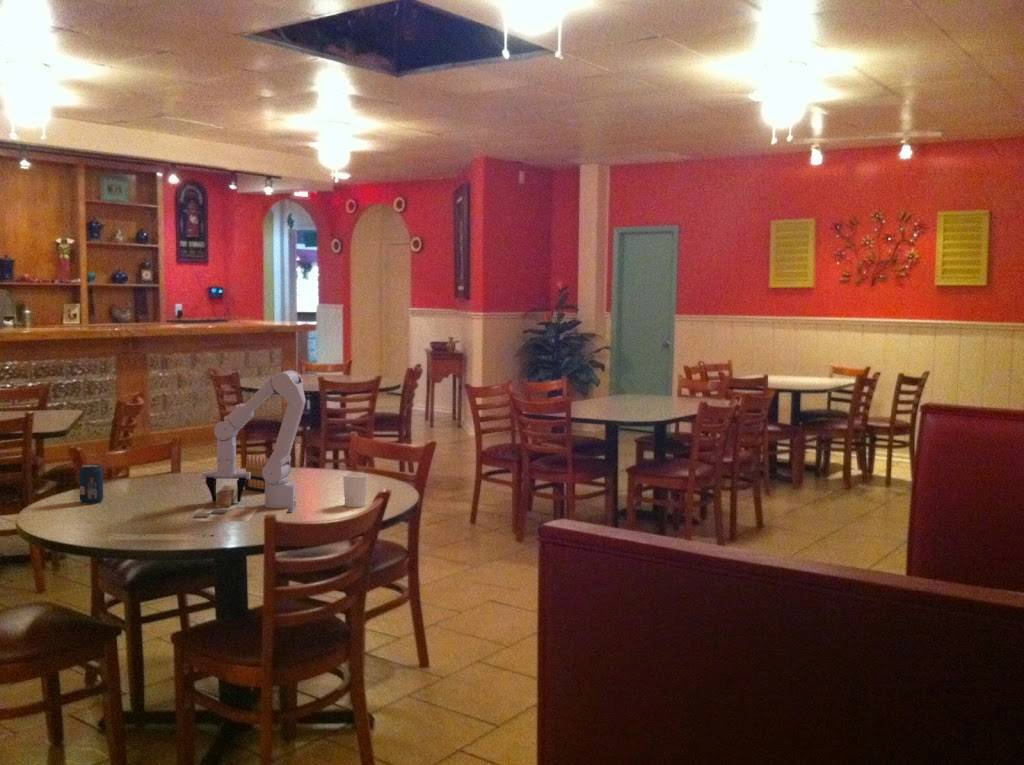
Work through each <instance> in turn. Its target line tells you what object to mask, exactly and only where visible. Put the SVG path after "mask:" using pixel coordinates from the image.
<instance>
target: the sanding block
mask: <svg viewBox="0 0 1024 765" xmlns="http://www.w3.org/2000/svg"><path fill="white" fill-rule="evenodd" d="M237 494H238V490H237V485H223V486H222V487H221V488H220V490H218V492H217V491H216V501H215V503H216V508H231V507H232V506H233V504H234V503H235V502H236V501H237Z"/></svg>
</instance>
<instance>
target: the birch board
mask: <svg viewBox="0 0 1024 765" xmlns="http://www.w3.org/2000/svg"><path fill="white" fill-rule="evenodd" d="M214 509H215V508H197V510H195V511H194V512H193V513H192V514H191V515H190V516H189V517H188V518H187V519H186V520H185V522H249V521H250V519H251V518H252V517H253V515H254V514H255V513H256V512H257V511H258V508H226V509H227V512H226V513H225V514H211V512H212V511H213V510H214ZM196 513H210V516H209V517H208V518H194V515H195V514H196Z"/></svg>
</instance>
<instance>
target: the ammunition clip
mask: <svg viewBox="0 0 1024 765" xmlns="http://www.w3.org/2000/svg"><path fill="white" fill-rule="evenodd" d="M268 460H269V458H268V457H266V459H265V457H264V456H263V457H262V458H261V456H258V457H257V456H256V455H255V456H253V455H251V456H250V455H249V454H247V456H246V461H245V462H246V464H245V472H251V478H250V479H248V480H247V482H246V484H245V486H244V489H243V490H247V491H252V492H259V493H264V494H265V480H264V478H263V476H262V470H263V468H264V466H265V465H266V464H267V463H268Z"/></svg>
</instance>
